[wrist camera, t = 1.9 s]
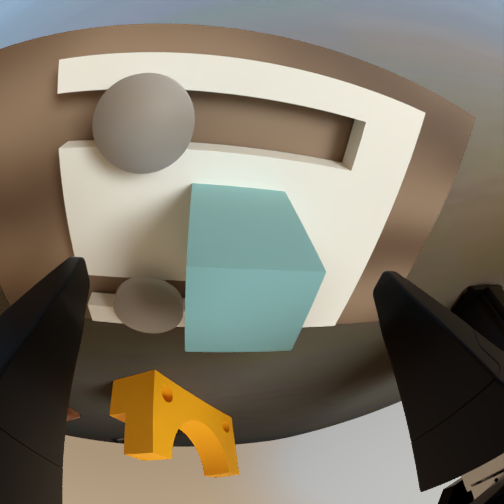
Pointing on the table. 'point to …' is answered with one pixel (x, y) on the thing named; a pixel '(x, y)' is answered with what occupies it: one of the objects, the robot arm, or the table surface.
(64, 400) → the robot arm
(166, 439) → the pipe clamp
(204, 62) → the keyhole panel
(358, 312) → the boss board
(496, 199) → the table surface
